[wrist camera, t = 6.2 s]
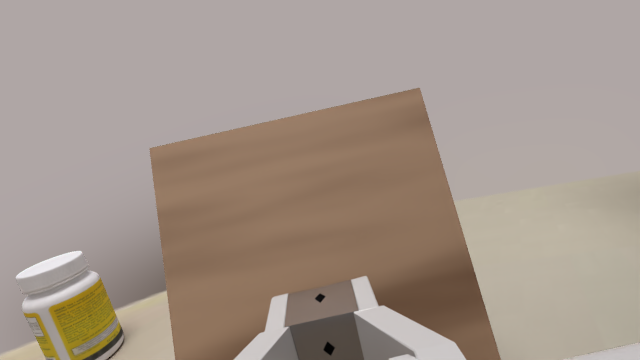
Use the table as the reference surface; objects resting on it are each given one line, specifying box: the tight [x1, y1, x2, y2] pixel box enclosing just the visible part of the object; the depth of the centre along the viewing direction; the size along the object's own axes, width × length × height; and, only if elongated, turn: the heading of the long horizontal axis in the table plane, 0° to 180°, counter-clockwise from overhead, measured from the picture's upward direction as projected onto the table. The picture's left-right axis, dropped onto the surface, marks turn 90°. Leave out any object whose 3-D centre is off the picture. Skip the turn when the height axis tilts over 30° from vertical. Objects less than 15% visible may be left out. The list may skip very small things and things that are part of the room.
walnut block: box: [150, 88, 501, 360], centre depth 12 cm, size 5×10×14 cm, turn 93°
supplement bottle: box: [16, 251, 124, 360], centre depth 23 cm, size 5×5×8 cm
